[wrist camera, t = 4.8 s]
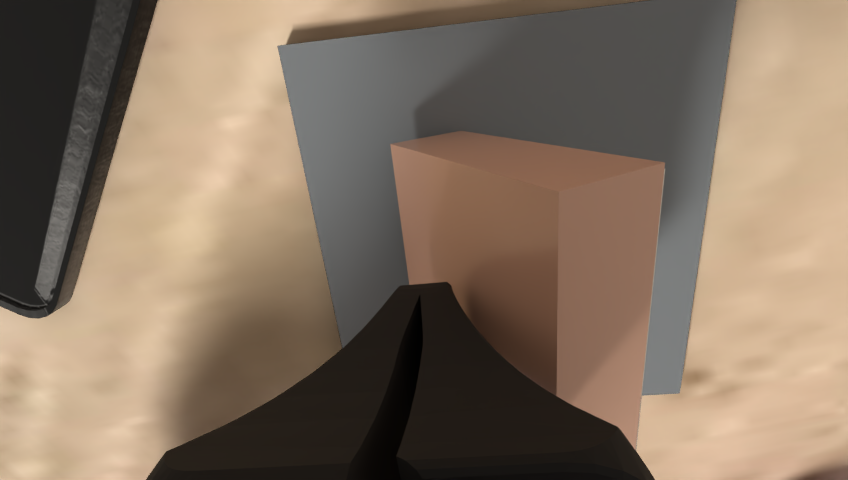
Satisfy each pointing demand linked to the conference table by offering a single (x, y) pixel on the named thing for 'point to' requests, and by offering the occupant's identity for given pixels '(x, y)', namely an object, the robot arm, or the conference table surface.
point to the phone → (59, 135)
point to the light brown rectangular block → (541, 256)
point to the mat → (514, 131)
